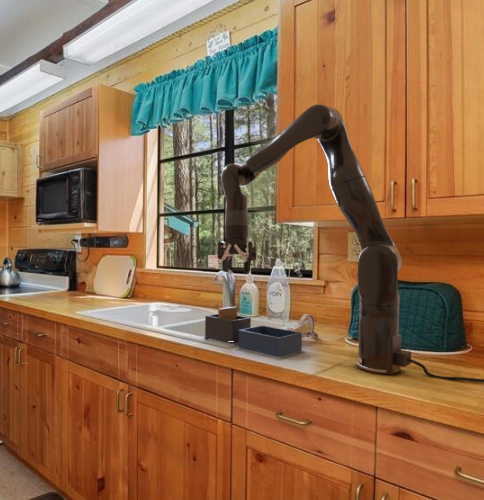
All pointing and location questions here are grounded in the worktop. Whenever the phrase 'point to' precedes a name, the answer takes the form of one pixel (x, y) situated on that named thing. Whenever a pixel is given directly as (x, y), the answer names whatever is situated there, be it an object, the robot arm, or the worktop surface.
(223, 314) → the upper tote
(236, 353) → the worktop surface
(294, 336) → the box
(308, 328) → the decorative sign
